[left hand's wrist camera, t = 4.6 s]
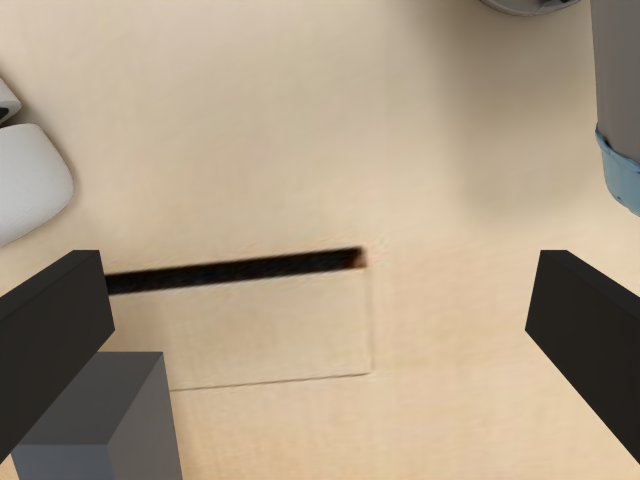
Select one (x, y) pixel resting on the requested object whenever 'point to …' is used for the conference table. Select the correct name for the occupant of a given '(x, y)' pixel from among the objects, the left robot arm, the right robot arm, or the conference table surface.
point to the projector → (28, 175)
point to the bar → (106, 425)
